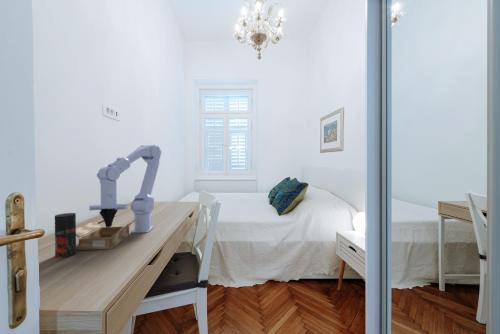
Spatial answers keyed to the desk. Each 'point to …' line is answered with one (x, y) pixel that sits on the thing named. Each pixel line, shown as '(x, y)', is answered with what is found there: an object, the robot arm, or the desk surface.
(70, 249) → the deodorant
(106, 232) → the carton
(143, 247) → the desk surface
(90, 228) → the flap
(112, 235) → the flap
